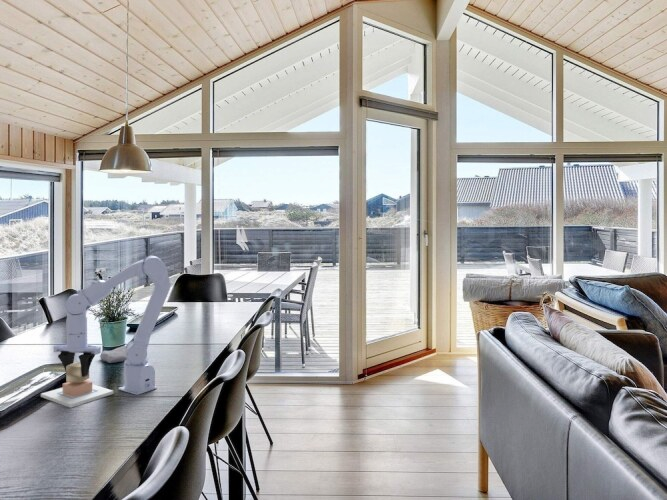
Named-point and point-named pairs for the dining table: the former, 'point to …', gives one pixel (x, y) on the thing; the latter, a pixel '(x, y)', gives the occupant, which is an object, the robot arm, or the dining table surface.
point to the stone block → (114, 355)
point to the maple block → (75, 373)
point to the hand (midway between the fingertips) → (77, 375)
